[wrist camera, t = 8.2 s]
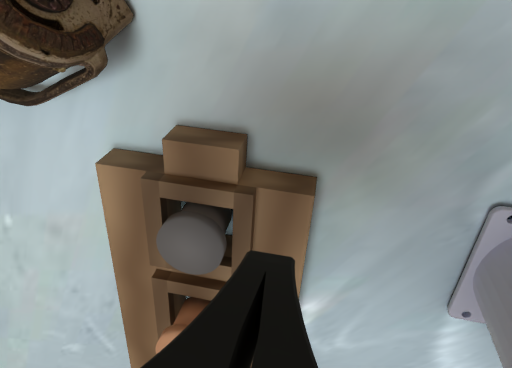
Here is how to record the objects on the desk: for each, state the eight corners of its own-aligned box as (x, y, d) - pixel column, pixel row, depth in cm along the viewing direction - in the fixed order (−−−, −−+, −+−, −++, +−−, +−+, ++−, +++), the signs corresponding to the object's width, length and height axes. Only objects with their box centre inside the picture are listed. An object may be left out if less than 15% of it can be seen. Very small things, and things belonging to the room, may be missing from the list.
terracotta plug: (229, 297, 24) (214, 342, 21) (228, 335, 26) (214, 381, 23) (175, 286, 25) (153, 330, 22) (178, 324, 26) (157, 369, 24)
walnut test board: (322, 143, 20) (319, 168, 18) (281, 405, 32) (276, 440, 30) (109, 116, 22) (80, 135, 19) (146, 374, 34) (131, 405, 32)
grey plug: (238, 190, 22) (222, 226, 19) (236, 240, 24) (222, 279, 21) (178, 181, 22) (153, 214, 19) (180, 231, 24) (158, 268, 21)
